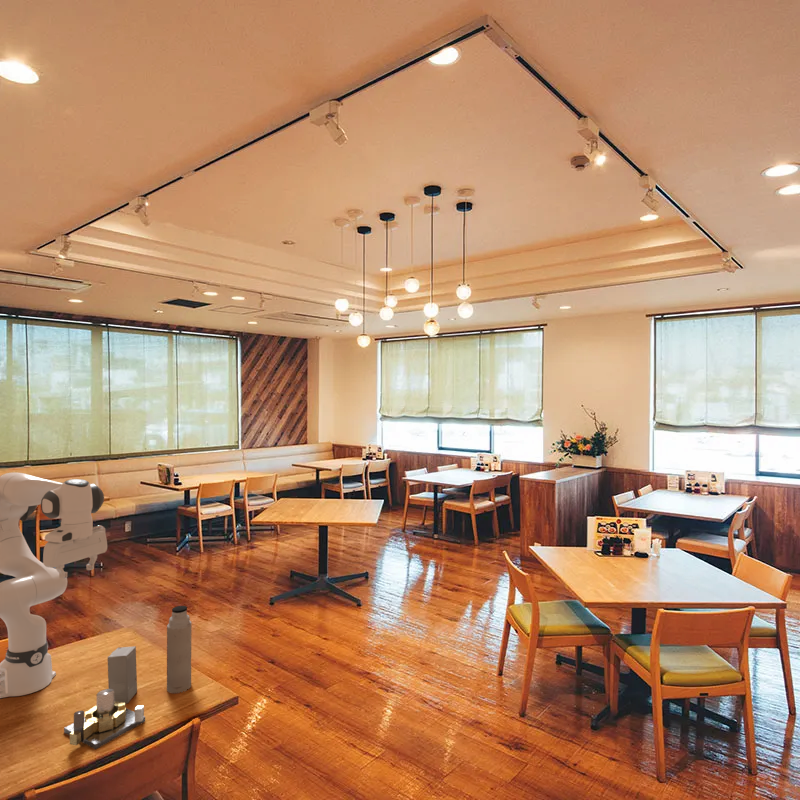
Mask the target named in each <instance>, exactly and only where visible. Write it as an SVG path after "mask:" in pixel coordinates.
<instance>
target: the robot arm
mask: <svg viewBox="0 0 800 800" xmlns="http://www.w3.org/2000/svg"><path fill="white" fill-rule="evenodd" d="M104 501H105V494H104V491H103V490H102V489H101V488H100V487H99V486H98V485H96V484H95V483H90V482H89V481H88V480H85V479H78V478H72V479H68V480H65V481H64V482H60V481H56V480H52V479H51V480H50V479H46V478H42V477H39V476H35V475H31V474H28V473H23V472H17V471H16V472H14V471H13V472H6V473H4V474H2V475H0V574H3V575H5V576H12V577H14V578H10V579H6V580H3V581H0V619H1V620H2V621H3V622H4V624H5V626H6V629H7V639H8V644H7V645H8V647H6V648H5V657H4V659H3V660H2V661H1V662H0V699H3V698H8V697H20V696H26V695H29V694H32V693H35V692H38V691H40V690H42V689H44V688H46V687H47V686H49V685H50V684H51V683H52V681H53V678H54V677H56V675H57V673H56V671H54V670H53V664H52V663H53V662H52V655H51V654H50V653H49V652H48V651H49V649H48V648H49V644H48V640H47V622H46V620H45V618H44V617H43V616H40V615H38V614H32V613H31V610H30V608H31V607H33V606H36V605H40V604H43V603H46V602H48V601H49V602H50V601H52V600H54V599H56V598H58V597H59V596H61V595H63V594H64V593H65V591H66V589H67V587H68V571H64V568H65V565H67V564H70V563H74V562H77V561H80V560H81V561H82V560H83V559H87V558H89V561H88V563H87V564H86V565H85V566H86V568H85V569H86V570H87V571H91V570H94V569H95V564H96V561H97V559H98V555H100V554H104V553H106V552H107V550H108V540H107V539H108V538H107V535H106V528H105V526H103V525H97V526H93V525H94V523H93V521H94V519H93V516H92V514H95V513H97V512H98V511H99V510H100V509H101V507H103V504H104ZM39 505H40V509H41V513H42V514H43V515H44V516H45V517H47V518H48V519H55V520H57V519H61V520H60V521H61V522H60V526H58V527H57V528H56V529H53V530H51V531H50V532H48V533H46V534H45V536H44V540H45V541H46V543H45V544H44V547H43V557H42V561H40V560H39V559H38V558H37V557H36V556H35V555H34V554H33V552H32V551H31V548H30V547H29V544H28V543H27V540H26V538H25V536H24V535H23V533H22V531H21V529H20V526H19V524H20V521H22V522H26V521H27V520H29V519H28V518H29V517H30V516H31V515H32V514H33V513H34V512H35V511H36V509H37V507H38V506H39Z"/></svg>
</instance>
